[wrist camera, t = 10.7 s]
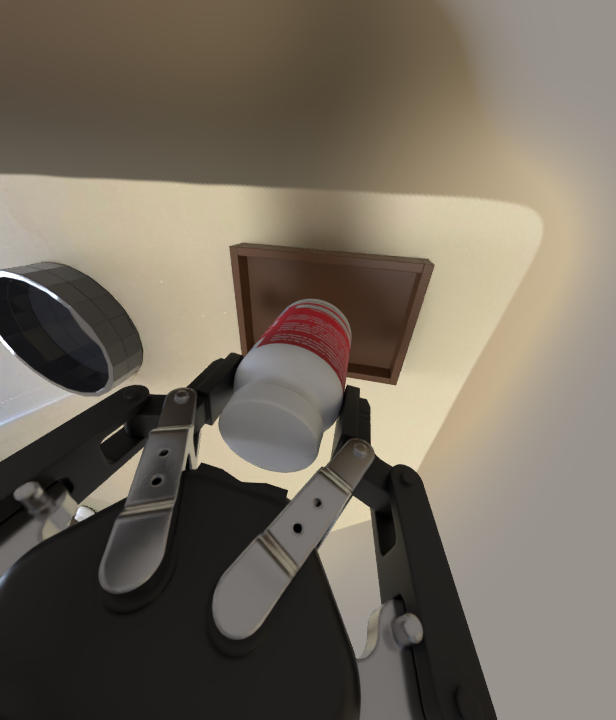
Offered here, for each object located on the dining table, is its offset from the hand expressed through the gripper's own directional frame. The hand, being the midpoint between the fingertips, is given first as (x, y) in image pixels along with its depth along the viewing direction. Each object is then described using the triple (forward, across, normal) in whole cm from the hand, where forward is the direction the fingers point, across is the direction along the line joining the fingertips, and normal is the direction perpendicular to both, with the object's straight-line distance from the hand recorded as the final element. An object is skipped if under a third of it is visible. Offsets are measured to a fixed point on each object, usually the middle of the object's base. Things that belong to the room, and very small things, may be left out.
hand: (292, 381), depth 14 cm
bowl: (+12, +31, +10) cm, 34 cm away
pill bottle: (+7, 0, 0) cm, 7 cm away
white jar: (+12, +57, +81) cm, 100 cm away
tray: (+12, 0, 0) cm, 12 cm away
